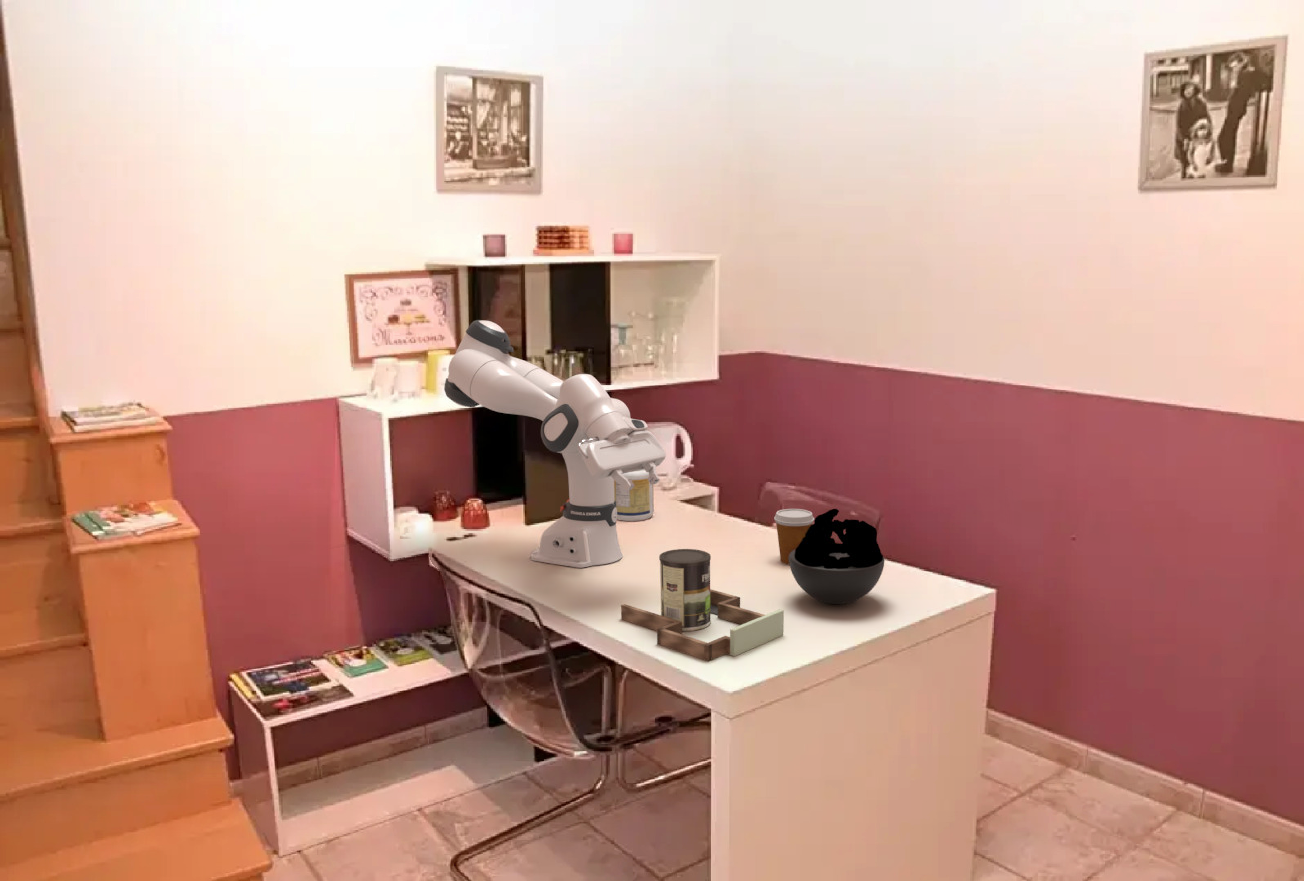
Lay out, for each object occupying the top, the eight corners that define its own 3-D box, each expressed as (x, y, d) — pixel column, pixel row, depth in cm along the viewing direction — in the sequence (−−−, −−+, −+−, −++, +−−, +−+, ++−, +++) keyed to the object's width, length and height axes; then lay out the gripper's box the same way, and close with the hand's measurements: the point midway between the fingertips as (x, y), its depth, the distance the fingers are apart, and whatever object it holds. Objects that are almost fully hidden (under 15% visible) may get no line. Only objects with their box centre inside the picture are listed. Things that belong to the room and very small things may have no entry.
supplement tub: (622, 510, 307) (620, 453, 304) (660, 513, 303) (659, 455, 300) (604, 520, 296) (602, 460, 293) (643, 523, 291) (642, 463, 288)
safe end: (730, 655, 196) (730, 629, 195) (779, 633, 206) (779, 609, 206) (734, 656, 195) (734, 630, 194) (783, 634, 206) (783, 610, 205)
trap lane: (603, 625, 212) (603, 611, 212) (686, 595, 230) (686, 582, 229) (712, 662, 192) (712, 647, 192) (794, 627, 210) (794, 612, 209)
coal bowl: (866, 623, 211) (868, 532, 208) (773, 608, 221) (774, 521, 218) (895, 595, 229) (897, 510, 225) (808, 582, 238) (809, 501, 235)
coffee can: (713, 614, 218) (713, 549, 215) (708, 632, 208) (707, 563, 205) (664, 612, 219) (663, 547, 217) (656, 630, 209) (655, 562, 207)
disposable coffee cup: (793, 569, 248) (793, 520, 246) (765, 560, 255) (766, 512, 253) (822, 562, 253) (822, 513, 251) (794, 553, 261) (794, 506, 259)
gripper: (581, 432, 219) (615, 485, 214) (650, 420, 233) (683, 469, 228) (567, 450, 222) (600, 503, 217) (636, 437, 237) (668, 486, 232)
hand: (643, 485), depth 223 cm, fingers open, 6 cm apart
